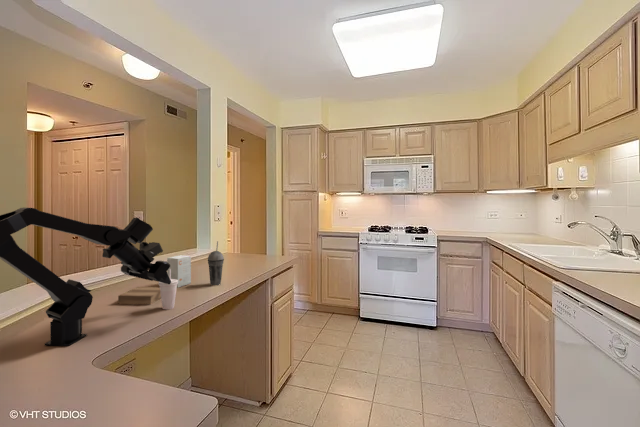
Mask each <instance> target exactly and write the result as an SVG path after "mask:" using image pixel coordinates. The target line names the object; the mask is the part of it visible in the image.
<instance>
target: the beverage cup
mask: <svg viewBox="0 0 640 427" xmlns="http://www.w3.org/2000/svg"><path fill="white" fill-rule="evenodd" d="M218 247H219V241H216V249H215V250H214V251H211V252H210V253H209V254H208V257H207V264H208V271H209V274H208V275H209V282H210V284H211V285H210V286H212V285H217V286H220V285H221V284H222V276H223V266H224V265H223V264H224V260H225V258H224V255H223V252H220V251H218V250H219V249H218ZM219 284H220V285H219Z"/></svg>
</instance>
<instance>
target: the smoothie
mask: <svg viewBox="0 0 640 427" xmlns="http://www.w3.org/2000/svg"><path fill="white" fill-rule="evenodd" d="M169 278H170V280H171V283H170V284H165V283H161V282H158V284H157V285H158V286H159V287H160V293H161V299H160V300H161V307H162V310H172V309H174V308H175V303H176V296H177V289H178V288H177V284H178V280H177V279H171V269H169Z"/></svg>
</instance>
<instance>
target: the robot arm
mask: <svg viewBox="0 0 640 427" xmlns="http://www.w3.org/2000/svg"><path fill="white" fill-rule="evenodd" d="M31 225H32V226H36V227H40V228H43V229H44V228H45V229H49V230H52V231H57V232H62V233H65V234H71V235H74V236H77V237H80V238H82V239H84V240H86V241H88V242H90V243H93V244H96V245H102V246H108V247H107V248H102V256H101V257H102V258H106V259H111V258H112V257H115V258H116V259H118V260H119V262H120V264H121V265H122V266H121V267H120V272H121V273H122V274H124V275H128V276H130V277H135V278H138V279H142V280H146V281H149V282H150V281H151V282H153V281H155V282H158V283H159V282H161V283H165V284H170V283H171V280H170V278H169V276H168V274H167V270H168V269H169V268H170V264H169V263H168V262H167V260H166V261H164V260H156V261H155V262H154V260H155V257H156V256H158V255H159V254H161V253H163V252H164V250H163V247H162V245H161V243H160V242H155V241H154V242H146V241H145V239H146V238H148V236H149V234H151V233H152V231H154V228H153V227H152V226H151V224H150V223H148V222H146V221H144V220H141V219H140V217H133V218H132V219H131V221H130V222H129V223H128V224H127V225H126V226H125V227H124V228H123V229H122V228H118V227H117V226H113V225H107V224H106V225H104V224H94V223H87V222H83V221H78V220H75V219H72V218H68V217H64V216H61V215H56V214H54V213H50V212H46V211H42V210H39V209H37V208H35V207H20V208H18V209H15V210H13V211H10V212H6V213H3V214H0V260H1V261H3V262H4V263H6V264H7V265H9V266H10V267H12V268H13V269H14V270H16V271H17V272H19V273H20V274H21V275H23V276H24V277H25V278H27V279H28V280H30V281H32V282H33V283H35V284H36V285H37V286H39V287H40V288H42V290H45V291H46V292H47V293H48V295H49V297H50V299H51V300H52V301H53V303H52V304H51V305H50V306H49V307H48V308H47V309H46V310H45V314H46V316H47V317H48V318H49V319H52V321H50V324H49V325H50V328H49V329H50V339H49V341H46V342H45V343H44V346H46V347H47V346H51V347H52V346H55V347H58V346H59V347H61V346H62V347H63V346H64V347H68V346H71V345H73V344H74V343H76V342H78V341H79V340H82V339H83V338H85V337H87V336H88V333H83V319H85V318H86V317H85V316H86V314H87V312H88V309H89V308H90V306H91V305H92V303H93V298H94V297H93V294H92V293H91V292H92V290H91V289H88V288H86V287H85V286H84V285H83V283H82V282H81V281H78V280H73V279H70V278H68V279H67V281H65V280H63V279H62V278H61V277H60V276H58V275H57V274H55V273H54V272H53V271H52V270H50V268H48V267H46V266H45V265H44V264H42V263H41V262H40V261H38V260H37V259H35V258H34V257H33V256H31V255H30V254H29V253H28V252H26V251H25V250H23V248H21V247H20V246H19V245H18V244H17V242H16V241H15V239H14V237H13V236H12V234H15V233H18V232H19V231H21V230H23V229H25V228H26V227H29V226H31ZM136 244H139V248H137V247H136V246H135V245H136ZM153 262H154V263H153Z"/></svg>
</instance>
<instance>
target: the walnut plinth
mask: <svg viewBox="0 0 640 427" xmlns="http://www.w3.org/2000/svg"><path fill="white" fill-rule="evenodd" d="M117 297H118V299H117V303H118V304H119V305H153V304H154V303H156V302H157V301H160V300H161V293H160V286H159V287H158V286H157V287H156V286H136V287H134V288H132V289H130V290H128V291H126V292H123V293H121V294H119V295H118V296H117Z"/></svg>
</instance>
